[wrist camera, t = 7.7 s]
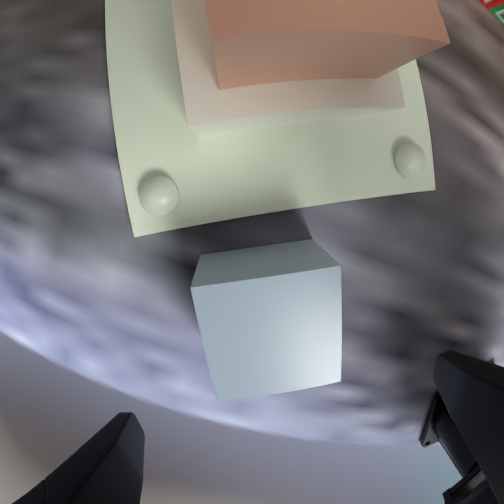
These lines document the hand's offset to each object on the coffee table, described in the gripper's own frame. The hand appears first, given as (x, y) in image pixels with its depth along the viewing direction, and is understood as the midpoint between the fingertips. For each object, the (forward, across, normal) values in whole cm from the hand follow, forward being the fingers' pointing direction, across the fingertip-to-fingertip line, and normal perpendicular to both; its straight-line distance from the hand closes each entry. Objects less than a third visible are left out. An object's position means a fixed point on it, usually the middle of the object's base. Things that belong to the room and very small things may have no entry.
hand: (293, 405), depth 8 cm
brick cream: (+6, -2, -11) cm, 13 cm away
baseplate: (+7, -2, -11) cm, 13 cm away
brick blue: (+7, 0, 0) cm, 7 cm away
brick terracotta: (+3, -2, -11) cm, 12 cm away
